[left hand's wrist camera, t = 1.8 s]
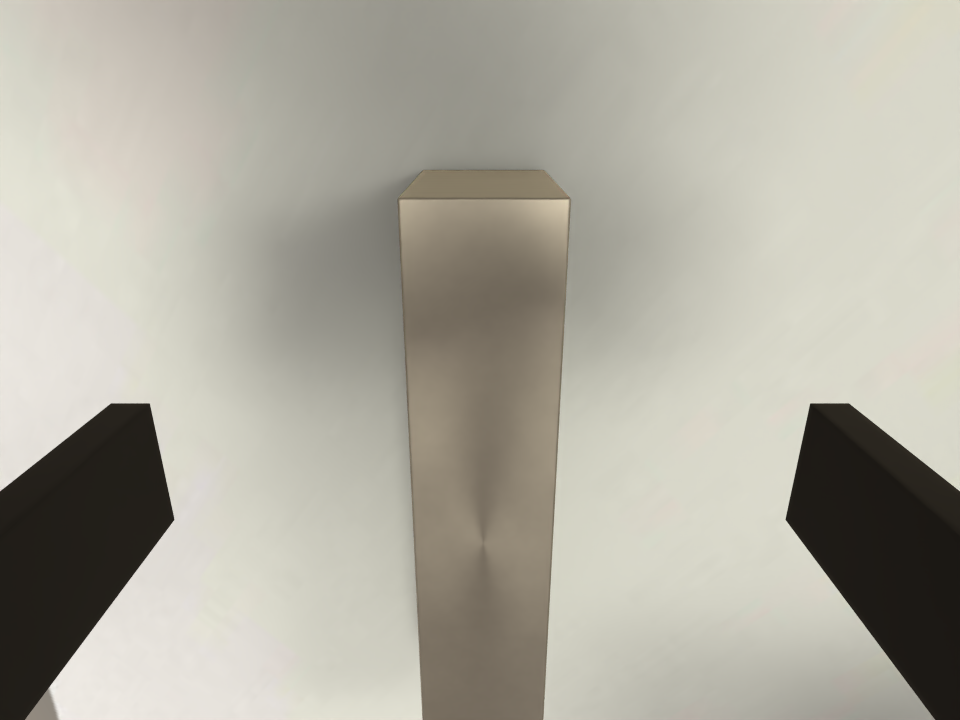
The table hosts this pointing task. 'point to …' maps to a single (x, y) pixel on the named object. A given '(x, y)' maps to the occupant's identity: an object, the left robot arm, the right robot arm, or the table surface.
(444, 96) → the table surface
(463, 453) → the bar
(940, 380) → the table surface
